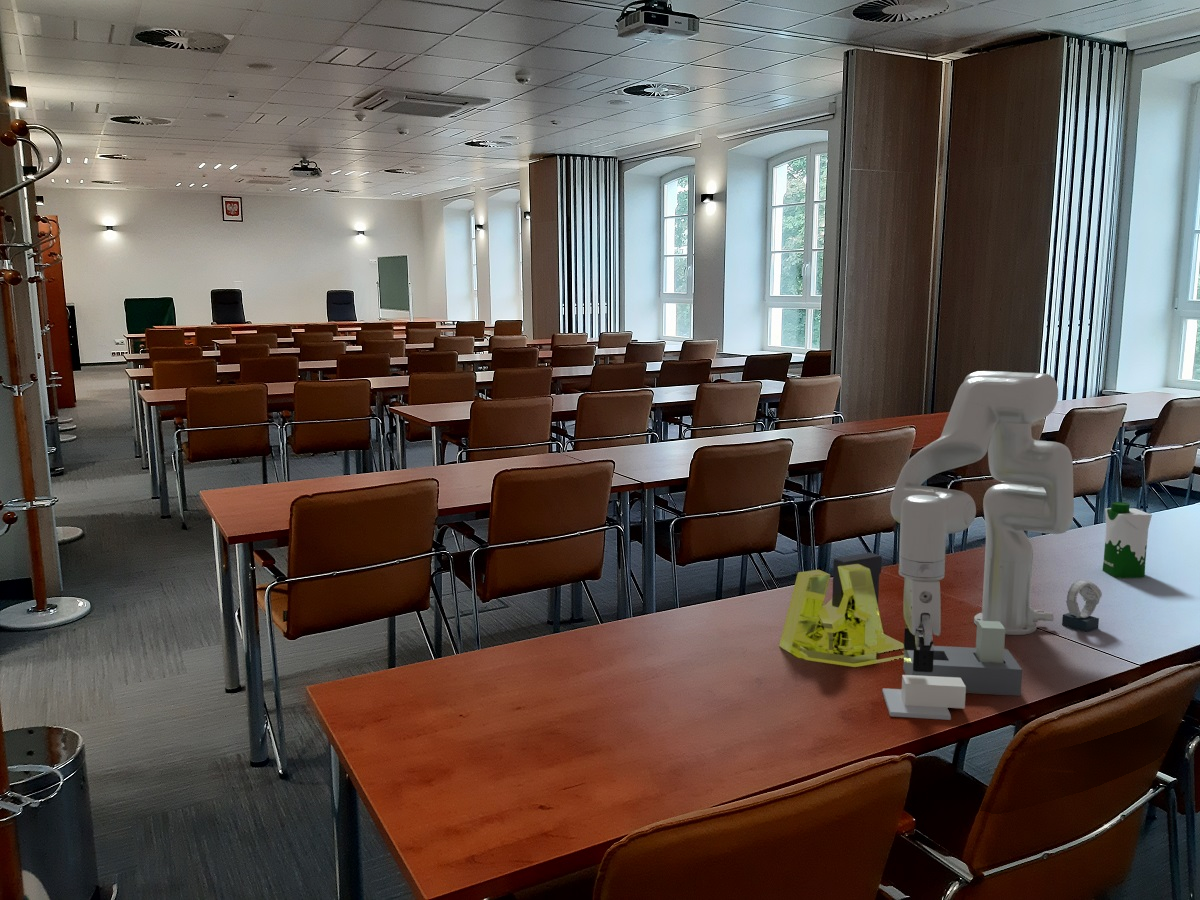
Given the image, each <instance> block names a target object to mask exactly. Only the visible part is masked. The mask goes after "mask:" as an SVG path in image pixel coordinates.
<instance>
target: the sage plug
mask: <svg viewBox="0 0 1200 900" xmlns="http://www.w3.org/2000/svg"><path fill="white" fill-rule="evenodd" d="M975 635H976V637H975V648H976V653H975V657H976V659H977V660H978V662H986V663H1003V660H1004V649H1005V641H1006V640H1005V639H1006V634H1005V628H1004V626H1003V625H1002V624H1001V623H1000V622H999V621H977V625H976V634H975Z"/></svg>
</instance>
